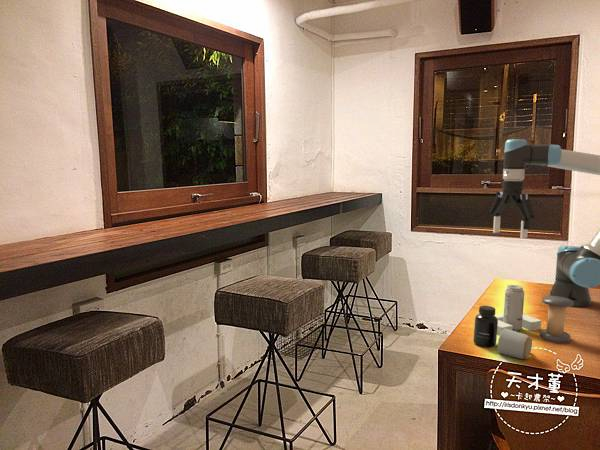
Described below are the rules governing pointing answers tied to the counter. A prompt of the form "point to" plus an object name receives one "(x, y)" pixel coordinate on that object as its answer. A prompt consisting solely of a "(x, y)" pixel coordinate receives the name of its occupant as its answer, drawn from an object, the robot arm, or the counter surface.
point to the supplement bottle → (485, 327)
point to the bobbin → (556, 319)
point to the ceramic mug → (514, 344)
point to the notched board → (527, 323)
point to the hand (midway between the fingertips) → (509, 235)
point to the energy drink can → (514, 306)
